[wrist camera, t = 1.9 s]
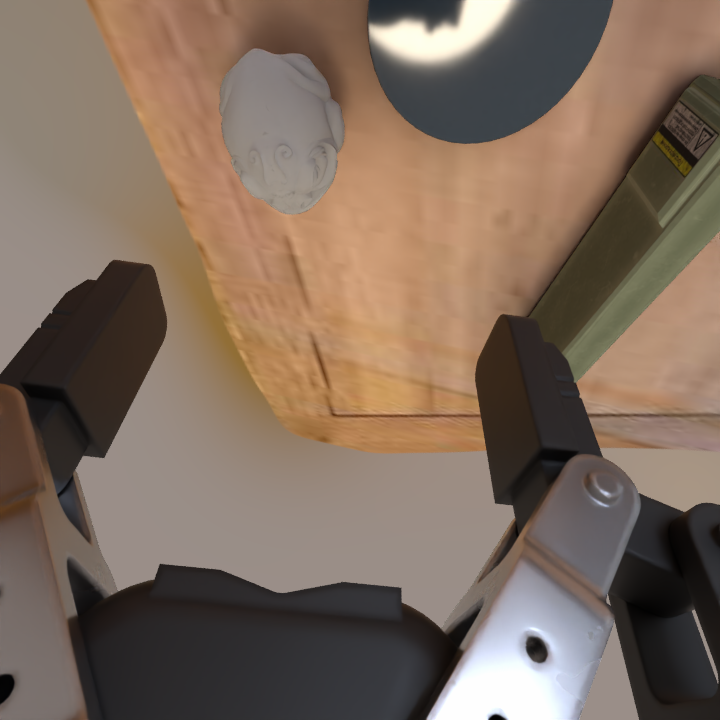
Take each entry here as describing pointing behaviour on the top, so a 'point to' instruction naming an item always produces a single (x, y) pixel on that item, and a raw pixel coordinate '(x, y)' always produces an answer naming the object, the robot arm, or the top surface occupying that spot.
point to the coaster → (481, 60)
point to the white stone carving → (281, 128)
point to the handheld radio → (640, 233)
